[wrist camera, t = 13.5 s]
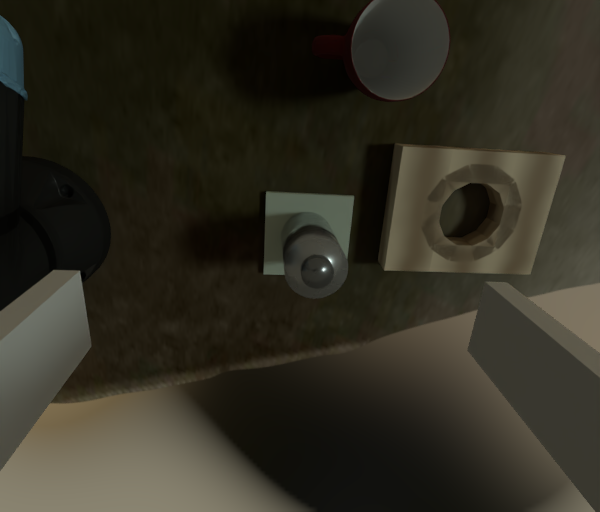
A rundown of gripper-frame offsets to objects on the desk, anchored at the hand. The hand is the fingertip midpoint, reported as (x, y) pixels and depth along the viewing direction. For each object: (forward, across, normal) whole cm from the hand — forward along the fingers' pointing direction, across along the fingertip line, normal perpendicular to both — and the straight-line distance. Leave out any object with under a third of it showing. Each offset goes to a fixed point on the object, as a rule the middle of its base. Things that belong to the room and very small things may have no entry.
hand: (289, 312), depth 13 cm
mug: (+33, +8, +11) cm, 36 cm away
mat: (+33, +4, -8) cm, 34 cm away
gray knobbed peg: (+32, +4, -8) cm, 33 cm away
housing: (+33, +22, -4) cm, 40 cm away
